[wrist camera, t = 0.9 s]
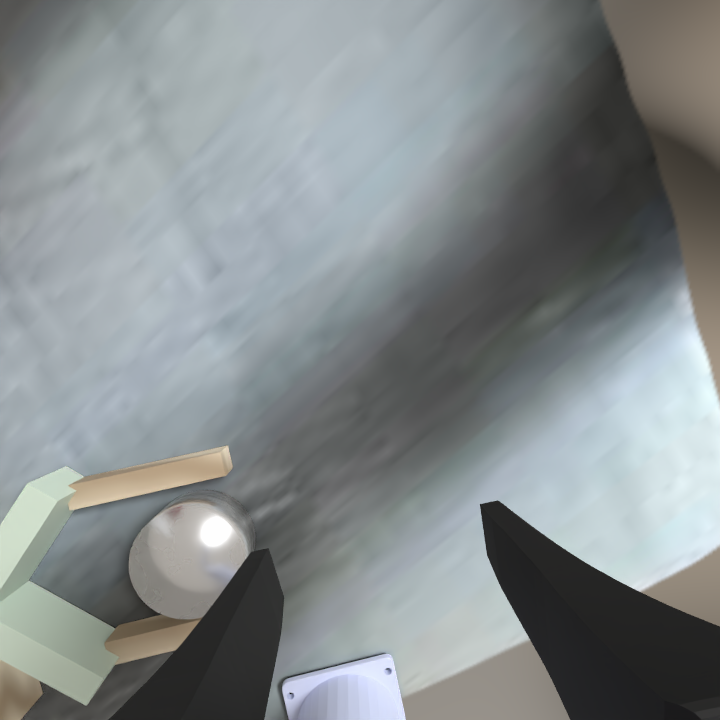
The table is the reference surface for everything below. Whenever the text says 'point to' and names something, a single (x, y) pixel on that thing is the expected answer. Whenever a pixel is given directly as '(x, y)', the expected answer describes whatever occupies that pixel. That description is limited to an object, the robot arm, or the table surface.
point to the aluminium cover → (190, 553)
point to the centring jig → (60, 618)
